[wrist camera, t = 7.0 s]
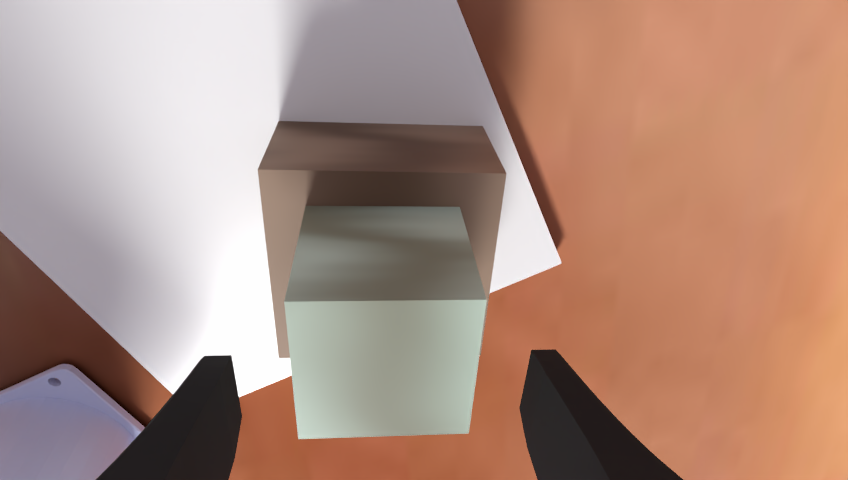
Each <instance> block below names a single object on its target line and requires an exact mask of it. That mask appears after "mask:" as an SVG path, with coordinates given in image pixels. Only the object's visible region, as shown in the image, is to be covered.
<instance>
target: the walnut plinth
mask: <svg viewBox="0 0 848 480" xmlns="http://www.w3.org/2000/svg"><path fill="white" fill-rule="evenodd" d="M506 174H507V173H506V171H505V169H504V167H503V165H502V163H501V161H500V159H499V157H498V155H497V153H496V151H495V149H494V147H493V145H492V144H491V142H490V140H489V138H488V136H487V134H486V132H485V130H484V128H483V126H462V125H421V124H380V123H340V122H299V121H278V124H277V126H276V128H275V131H274V133H273V135H272V137H271V140H270V142H269V144H268V147H267V149H266V151H265V154H264V156H263V158H262V161H261V163H260V165H259V168H258V177H259V186H260V195H261V204H262V213H263V222H264V231H265V240H266V249H267V258H268V267H269V276H270V285H271V294H272V303H273V312H274V321H275V330H276V339H277V348H278V357H279V358H290V353H289V343H288V334H287V324H286V314H285V305H284V300H285V296H286V291H287V287H288V282H289V278H290V273H291V269H292V264H293V260H294V255H295V251H296V246H297V242H298V237H299V233H300V228H301V224H302V219H303V215H304V210H305V206H414V207H460V209H461V213H462V216H463V220H464V223H465V226H466V230H467V233H468V237H469V240H470V244H471V247H472V251H473V254H474V257H475V261H476V264H477V268H478V271H479V275H480V278H481V281H482V285H483V288H484V292H485V295H486V299H487V302H486V309H485V317H484V324H483V331H482V339H481V346H480V354H479V355H481V348H482V342H483V335H484V328H485V321H486V314H487V307H488V300H489V293H490V286H491V279H492V272H493V265H494V258H495V251H496V244H497V237H498V230H499V223H500V216H501V209H502V202H503V195H504V188H505V181H506Z"/></svg>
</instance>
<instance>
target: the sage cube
mask: <svg viewBox="0 0 848 480" xmlns="http://www.w3.org/2000/svg"><path fill="white" fill-rule="evenodd" d="M486 302H487V299H486V295H485V292H484V288H483V285H482V281H481V278H480V275H479V271H478V268H477V264H476V261H475V257H474V254H473V251H472V247H471V244H470V240H469V237H468V233H467V230H466V226H465V223H464V220H463V216H462V213H461V209H460V207H414V206H305V210H304V215H303V219H302V224H301V228H300V233H299V237H298V242H297V246H296V251H295V255H294V260H293V264H292V269H291V273H290V278H289V282H288V287H287V291H286V296H285V300H284V305H285V314H286V324H287V334H288V343H289V353H290V363H291V373H292V382H293V392H294V402H295V411H296V421H297V431H298V439H315V438H345V437H375V436H405V435H435V434H465V433H469V427H470V420H471V412H472V405H473V398H474V390H475V383H476V376H477V368H478V361H479V354H480V346H481V339H482V331H483V324H484V317H485V309H486Z"/></svg>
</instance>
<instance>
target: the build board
mask: <svg viewBox="0 0 848 480" xmlns="http://www.w3.org/2000/svg"><path fill="white" fill-rule="evenodd" d="M278 121H299V122H340V123H380V124H421V125H462V126H483V128H484V130H485V132H486V134H487V136H488V138H489V140H490V142H491V144H492V145H493V147H494V149H495V151H496V153H497V155H498V157H499V159H500V161H501V163H502V165H503V167H504V169H505V171H506V173H507V174H506V181H505V188H504V195H503V202H502V209H501V216H500V223H499V230H498V237H497V244H496V251H495V258H494V265H493V272H492V279H491V286H490V293H491V292H494V291H496V290H499V289H501V288H503V287H506V286H508V285H511V284H513V283H516V282H518V281H520V280H523V279H525V278H528V277H530V276H532V275H535V274H537V273H540V272H542V271H544V270H547V269H549V268H552V267H554V266H557V265H559V264H561V260H560V258H559V255H558V253H557V250H556V248H555V245H554V243H553V240H552V238H551V235H550V233H549V230H548V228H547V225H546V223H545V220H544V218H543V215H542V213H541V210H540V208H539V205H538V203H537V200H536V198H535V195H534V193H533V190H532V188H531V185H530V183H529V180H528V178H527V175H526V173H525V170H524V168H523V165H522V163H521V160H520V158H519V155H518V153H517V150H516V148H515V145H514V143H513V140H512V138H511V135H510V133H509V130H508V128H507V125H506V123H505V120H504V118H503V115H502V113H501V110H500V108H499V105H498V103H497V100H496V98H495V95H494V93H493V90H492V88H491V85H490V83H489V80H488V78H487V75H486V73H485V70H484V68H483V65H482V63H481V60H480V58H479V55H478V53H477V50H476V48H475V45H474V43H473V40H472V38H471V35H470V33H469V30H468V28H467V25H466V23H465V20H464V18H463V15H462V13H461V10H460V8H459V5H458V3H457V0H0V231H1V232H2V233H3V234H4V235H5V236H6V237H7V238H8V239H9V240H10V241H11V242H13V243H14V244H15V245H16V246H17V247H18V248H19V249H20V250H21V251H22V252H23V253H24V254H25V255H26V256H27V257H28V258H29V259H30V260H32V261H33V262H34V263H35V264H36V265H37V266H38V267H39V268H40V269H41V270H42V271H43V272H44V273H45V274H46V275H47V276H48V277H49V278H51V279H52V280H53V281H54V282H55V283H56V284H57V285H58V286H59V287H60V288H61V289H62V290H63V291H64V292H65V293H66V294H67V295H68V296H69V297H71V298H72V299H73V300H74V301H75V302H76V303H77V304H78V305H79V306H80V307H81V308H82V309H83V310H84V311H85V312H86V313H87V314H88V315H90V316H91V317H92V318H93V319H94V320H95V321H96V322H97V323H98V324H99V325H100V326H101V327H102V328H103V329H104V330H105V331H106V332H107V333H109V334H110V335H111V336H112V337H113V338H114V339H115V340H116V341H117V342H118V343H119V344H120V345H121V346H122V347H123V348H124V349H125V350H126V351H128V352H129V353H130V354H131V355H132V356H133V357H134V358H135V359H136V360H137V361H138V362H139V363H140V364H141V365H142V366H143V367H144V368H145V369H147V370H148V371H149V372H150V373H151V374H152V375H153V376H154V377H155V378H156V379H157V380H158V381H159V382H160V383H161V384H162V385H163V386H164V387H165V388H167V389H168V390H169V391H170V392H171V393H172V394H174V393H175V391H176V390H177V389H178V388H179V387H180V385H181V384H182V383H183V381H184V380H185V379H186V378H187V376H188V375H189V374H190V372H191V371H192V370H193V369H194V367H195V366H196V365H197V363H198V362H199V361H200V359H202V358H203V357H204V356H213V355H232V361H233V367H234V373H235V379H236V385H237V390H238V396H239V397H240V396H243V395H245V394H248V393H250V392H252V391H255V390H257V389H260V388H262V387H265V386H267V385H269V384H272V383H274V382H277V381H279V380H281V379H284V378H286V377H289V376H291V375H292V373H291V363H290V358H279V357H278V348H277V339H276V330H275V321H274V312H273V303H272V294H271V285H270V276H269V267H268V258H267V249H266V240H265V231H264V222H263V213H262V204H261V195H260V186H259V177H258V168H259V165H260V163H261V161H262V158H263V156H264V154H265V151H266V149H267V147H268V144H269V142H270V140H271V137H272V135H273V133H274V131H275V128H276V126H277V124H278Z"/></svg>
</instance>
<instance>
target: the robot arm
mask: <svg viewBox="0 0 848 480" xmlns="http://www.w3.org/2000/svg"><path fill="white" fill-rule="evenodd" d="M56 378H57V379H56ZM520 413H521V418H522V423H523V429H524V434H525V438H526V443H527V448H528V451H529V454H530V457H531V460H532V463H533V466H534V470H535V473H536V476H537V479H538V480H683V479H682V478H681V477H679V476H678V475H677V474H676V473H675V472H673V471H672V470H671V469H670V468H669V467H668V466H666V465H665V464H664V463H663V462H662V461H661V460H659V459H658V458H657V457H656V456H655V455H654V454H653V453H652V452H650V451H649V450H648V449H647V448H646V447H645V446H644V445H643V444H642V443H641V442H640V441H639V440H638V439H637V438H636V437H635V436H634V435H633V434H632V433H631V432H630V431H629V430H628V429H627V428H626V427H625V426H624V425H623V424H622V423H621V422H620V421H619V420H618V419H617V418H616V417H615V416H614V415H613V414H612V413H611V412H610V411H609V410H608V408H607V407H606V406H605V405H604V404H603V403H602V402H601V401H600V400H599V399H598V398H597V397H596V395H595V394H594V393H593V392H592V391H591V390H590V389H589V388H588V386H587V385H586V384H585V383H584V382H583V381H582V379H581V378H580V377H579V376H578V375H577V374H576V373H575V371H574V370H573V369H572V368H571V367H570V365H569V364H568V363H567V362H566V361H565V360H564V358H563V357H562V356H561V355H560V354H559V353H558V352H557V351H556V350H531V355H530V360H529V365H528V370H527V375H526V379H525V384H524V389H523V394H522V399H521V404H520ZM241 418H242V414H241V408H240V402H239V396H238V390H237V385H236V379H235V373H234V367H233V361H232V355H213V356H204V357H203V358H202V359H200V361H199V362H198V363H197V365H196V366H195V367H194V369H193V370H192V371H191V372H190V374H189V375H188V376H187V378H186V379H185V380H184V381H183V383H182V384H181V385H180V387H179V388H178V389H177V390H176V391H175V393H174V394H173V395H172V396H171V398H170V399H169V400H168V401H167V403H166V404H165V405H164V406H163V407H162V408H161V410H160V411H159V412H158V413H157V414H156V415H155V417H154V418H153V419H152V420H151V421H150V423H149V424H148V425H147V426H146V427H144V426H143V425H142V424H140V423H139V422H138V421H137V420H136V419H135V418H134V417H132V416H131V415H130V414H129V413H128V412H127V411H126V410H124V409H123V408H122V407H121V406H120V405H119V404H117V403H116V402H115V401H114V400H113V399H112V398H111V397H109V396H108V395H107V394H106V393H105V392H104V391H102V390H101V389H100V388H99V387H98V386H97V385H96V384H94V383H93V382H92V381H91V380H90V379H89V378H87V377H86V376H85V375H84V374H83V373H82V372H81V371H79V370H78V369H77V368H76V367H74V366H73V365H70V364H60V365H57V366H55V367H53V368H51V369H49V370H46V371H44V372H42V373H40V374H37V375H35V376H33V377H31V378H29V379H26V380H24V381H22V382H20V383H18V384H15V385H13V386H11V387H9V388H7V389H4V390H2V391H0V480H228V479H229V476H230V472H231V469H232V465H233V462H234V458H235V453H236V447H237V442H238V436H239V430H240V424H241Z"/></svg>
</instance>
